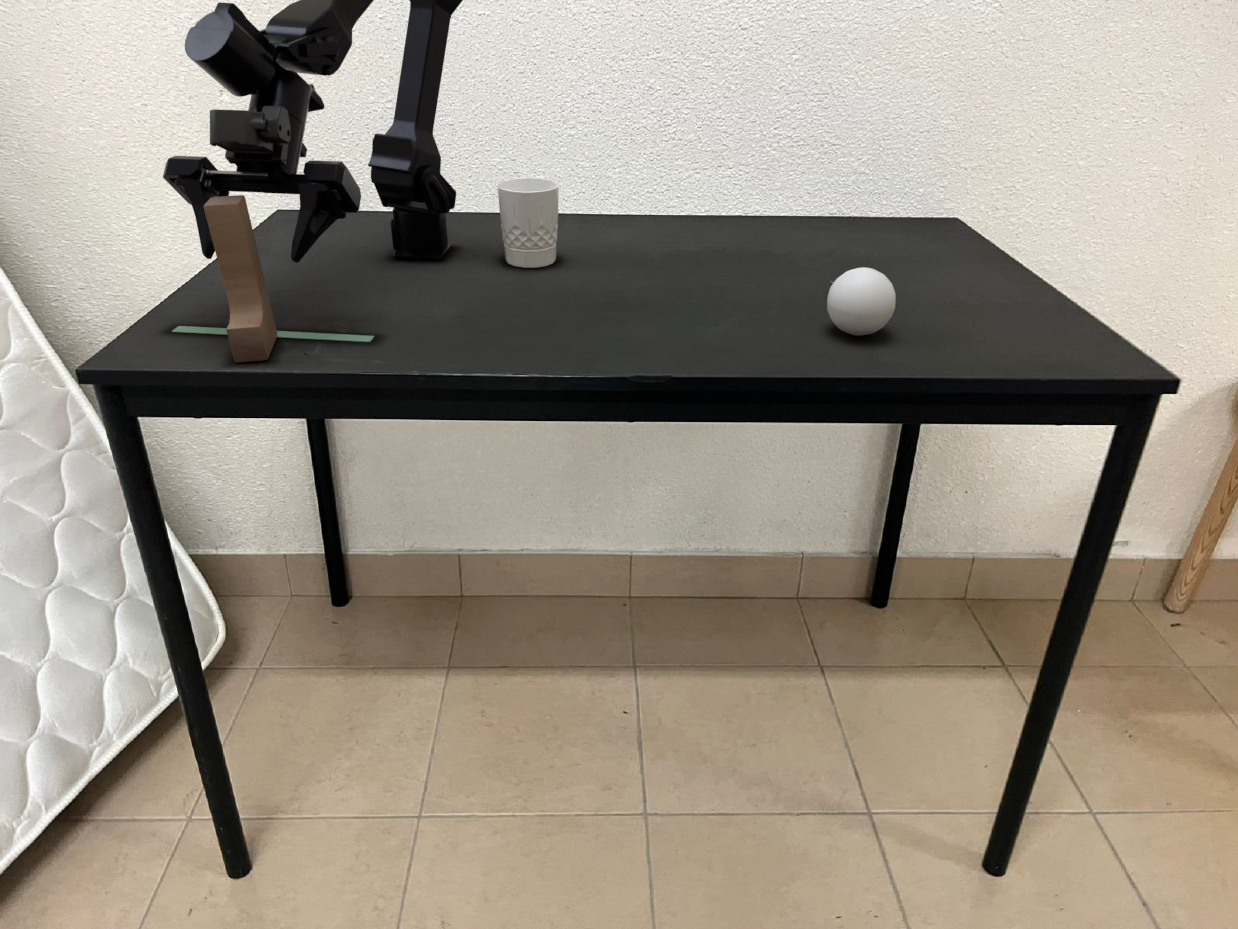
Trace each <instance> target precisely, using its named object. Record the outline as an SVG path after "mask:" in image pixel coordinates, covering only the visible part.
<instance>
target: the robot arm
mask: <svg viewBox="0 0 1238 929" xmlns="http://www.w3.org/2000/svg"><path fill="white" fill-rule="evenodd" d="M374 1H375V0H297V1H294V2H292V3H290V4H288V5H287V6H286V7H284V8H283V9H282V10H280V11H279V12H277V13H276V14H274V15H273V16H272V17H271V18H270V19H269V21H268V23H267V24H266V25H265V28H263V29H261V30H260V29H258V28H257V26H255V25H254V24H253V23H252V22H251V21H250V20H249V19H248V18H247V17H246V15H245V14H244V13H243V11H242V10H241V9H240V8H239V7H238V6H237V5H236V4H235V3H234V2H223V1H222V2H217V4H216V6H215V9H214V11H211V12H209V13H207V14H205V15H204V16H203V17H201V18H200V19H199V20H198V21H197V22H196V23H195V25H194V26H191V27H190V28H189V30H188V32H187V34H186V37H185V39H184V51H185V54H186V56H187V57H188V58H189V59H190V60H191V61H193V62H194V63H195V64H196V65H197V66H199V68H201V69H202V70H203V71H204V72H206V74H208V75H209V76H210V77H211V78H212V79H213V80H215V81H216V82H217V83H218V84H219V85H220V86H222V87H223V88H224V89H225V90H226V91H228V93H230V94H231V95H233V96H235V97H239V98H241V97H247V96H249V95H250V100H249V104H248V109H246V110H245V109H243V110H242V109H210V110H209V145H210V146H212V147H216V146H217V147H219V148H221V149H223V150H225V154H224V158H225V159H226V161H228V163H229V164H232V165H235V166H236V170H219V169H218V168H217V167H216V166H215V165H214V164H213V163H212V161H211V160H210V159H209V158H208V157H207V156H192V155H191V156H190V155H173V156H171V157H169V158H167V160H166V162H165V165H164V170H163V174H162V178H163V180H165V181H166V183H167V184H168V185H170V186H171V187H172V188H173V189H174V191H175V192H177V193H178V194H179V195H180V197H181V198H182V199H183V200H184V201H185V202H186V203H187V204H189V205H191V207H192V210H193V213H194V217H195V222H196V226H197V232H198V238H199V243H200V248H201V253H202V255H203V257H204V258H206V259H207V260H212V259H213V256H214V255H215V253H216V252H215V248H214V245H213V241H212V237H211V233H210V229H209V225H208V222H207V218H206V214H205V210H204V205H205V204H206V202H207V201H208V200H209V199H210V198H211V197H221V196H230V192H237V193H238V192H239V193H240V192H242V193H263V194H280V195H282V194H283V195H299V209H298V210H299V211H298V215H297V219H296V224H295V229H294V233H293V237H292V240H291V241H292V242H291V250H290V259H291V260H292V261H293V263H295V264H298V263H300V262H301V260H303V258H304V257H305V256H306V255H307V253H308V252H309V251H310V249H311V248H312V247H313V246H314V244H315V243H316V242H317V240H319V238H320V237H321V236H322V235H323V234H324V233H325V232H326V231H327V230H328V229H329V228H330V227H331V226H332V225H333V224H334V223H335V222H336V221H338V220H343V219H345V218H346V217H347V213H349V214H350V213H351V214H352V213H353V214H356V213H358V212H359V211H360V208H361V201H362V192H361V188H360V186H359V185H358V183H357V181H356V180H355V178H354V177H353V175H352V173H351V172H350V170H349V168H348V167H347V166H346V164H345V163H344V162H343V161H341V160H311V159H310V160H308V161H306V162H305V163H304V166H303V171H302V172H303V173H298V170H299V163H300V158H306V157H307V154H308V148H307V147H306V145H305V144H304V135H305V130H306V126H307V118H308V114H309V113H311V112H316V111H321V110H324V109H325V103H324V100H323V99H322V97H321V96H320V94H319V93H317V91H316V88H315V85H314V84H313V83H308V82H307V81H306V80H305V79H304V78H302V76H301V75H300V74H306V75H315V76H332V75H334V74H335V73H337V72H338V71H339V70H340V68H341V66H342V64H343V63H344V61H345V59H346V57H347V55H348V53H349V52H350V49H351V48H352V46H353V29H354V27H355V26H356V24H357V22H358V21H359V19H360V18H362V16H363V14H364V13H365V12H366V11H367V9H368V8H370V6H371V4H372V3H373V2H374ZM408 1H409V5H410V7H409V14H408V21H407V28H406V35H405V39H404V40H405V41H404V48H403V55H402V61H401V68H400V73H399V74H400V75H399V82H398V86H397V88H398V89H397V95H396V101H395V109H394V115H393V121H392V125H390V127H389V128H388V130H386V132H385V133H384V134H383V133H374V135H373V138H372V143H371V144H372V145H371V146H372V148H371V155H370V159H369V161H368V163H367V166H368V167H370V181H371V183H372V184H373V185H374V187H375V190H376V193H377V195H378V197H379V200H380V202H381V205H382V207H384V208H392V218H391V219H390V220H389V224H390V231H391V242H392V249H393V250H394V251H395V252H394V253H393V259H398V260H399V259H400V260H421V261H422V260H423V261H441V260H442V259H443V258H444V257H445V256H446V255H447V253H448V252H449V251H450V250H451V249H452V247H453V244H452V243H451V242H449V241H448V240H449V238H448V229H447V216H446V214H448V213H450V210H453V209H455V206H456V201H457V191H456V190H455V189H454V187H452V185H451V184H450V183H449V182H448V181H447V179H446V178H445V177H444V176H443V175H442V174H441V168H442V167H441V166H442V157H441V153H440V150H439V147H438V145H437V143H436V140H435V139H436V138H435V137H434V125H435V120H436V114H437V108H438V100H439V95H440V89H441V82H442V75H443V69H444V63H445V58H446V57H445V56H446V49H447V43H448V37H449V30H450V25H451V24H450V23H451V19H452V15H453V14H454V13H455V11H456V10H457V9H458V7H459V6H460V5H461V4H462V2H463V1H464V0H408Z"/></svg>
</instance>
